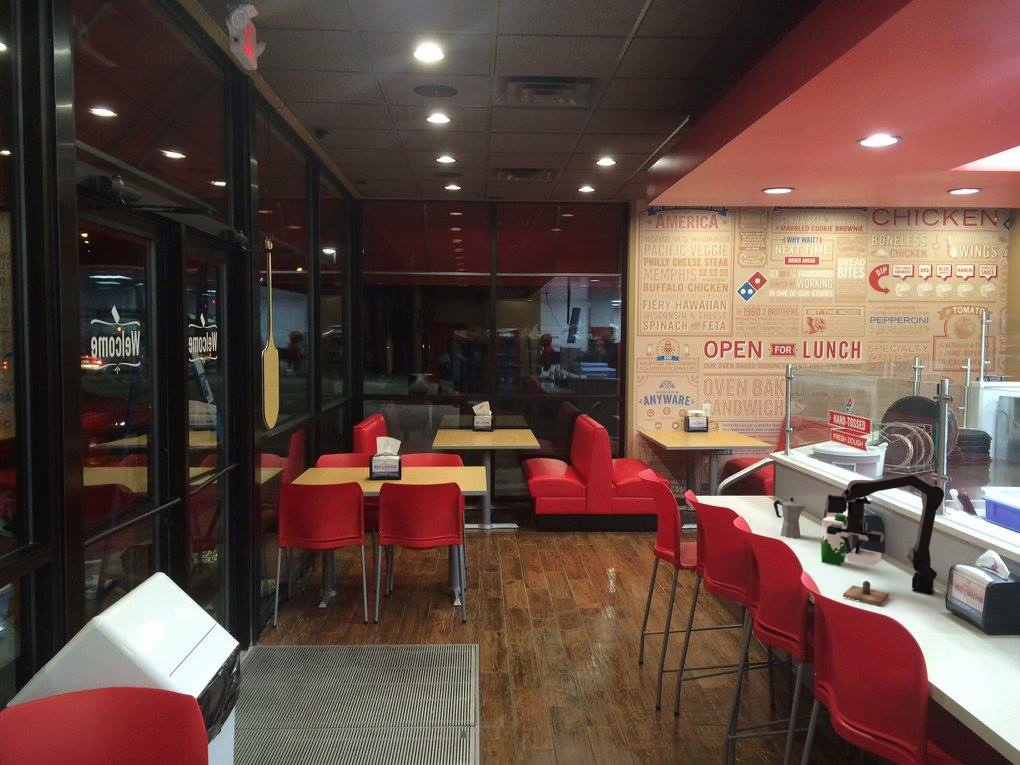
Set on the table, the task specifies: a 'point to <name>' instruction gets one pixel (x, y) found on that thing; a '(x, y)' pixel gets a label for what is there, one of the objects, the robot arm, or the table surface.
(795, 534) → the coffeepot
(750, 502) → the table surface
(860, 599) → the board
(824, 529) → the milk carton
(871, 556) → the white square frame
